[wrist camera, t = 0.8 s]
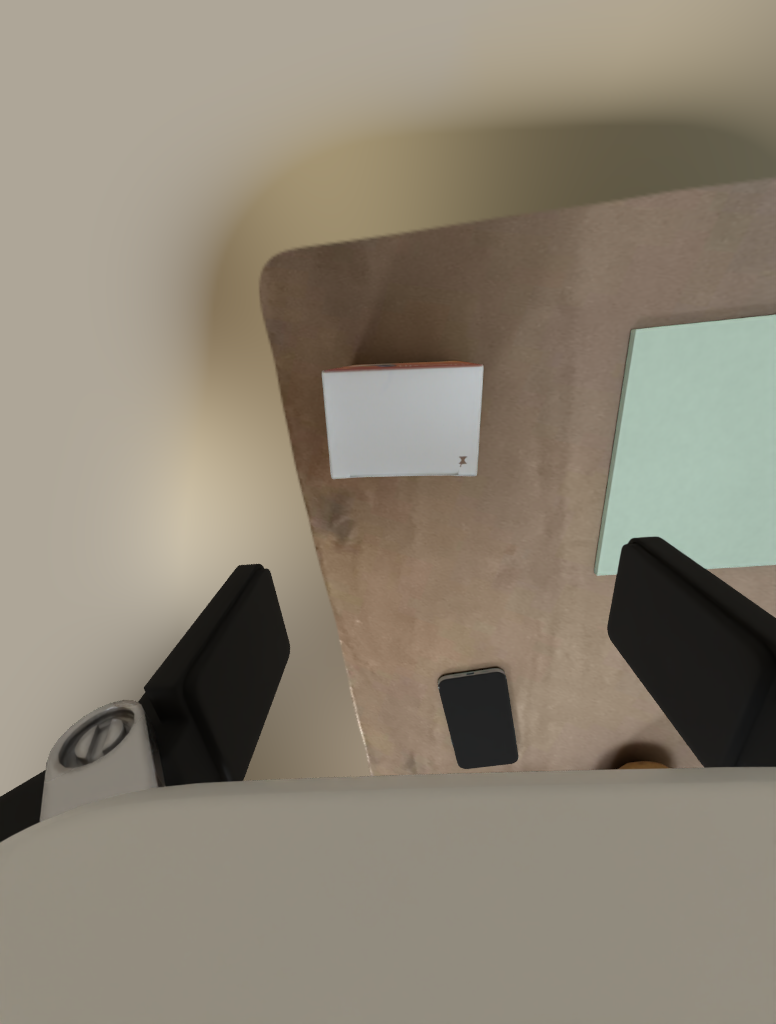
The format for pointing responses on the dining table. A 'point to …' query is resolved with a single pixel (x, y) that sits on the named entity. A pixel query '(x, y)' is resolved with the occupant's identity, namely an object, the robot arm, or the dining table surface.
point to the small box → (403, 419)
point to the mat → (696, 444)
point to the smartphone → (479, 718)
